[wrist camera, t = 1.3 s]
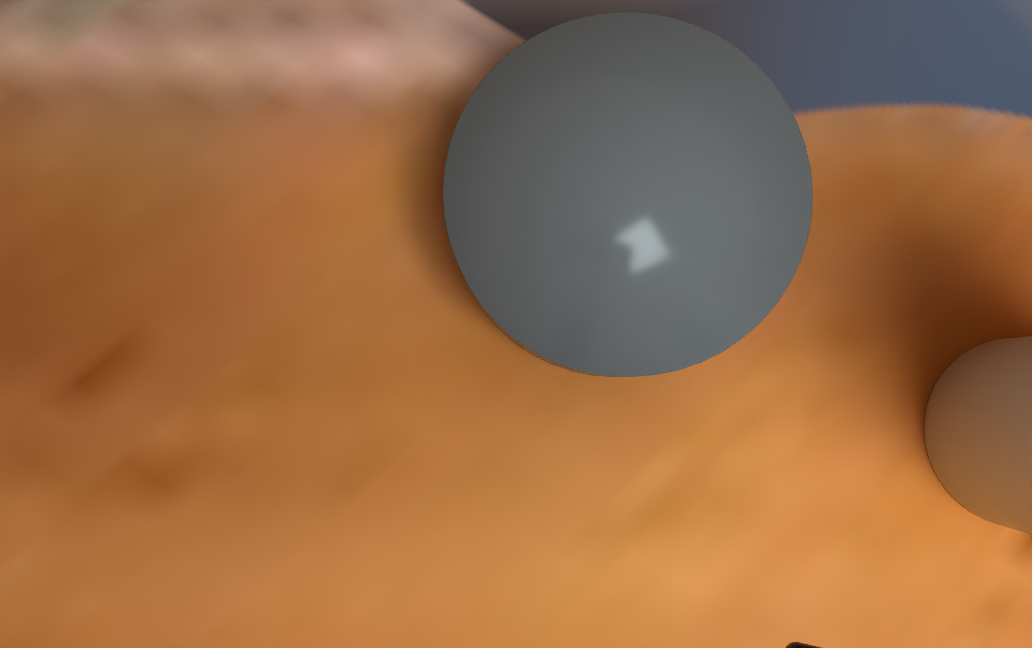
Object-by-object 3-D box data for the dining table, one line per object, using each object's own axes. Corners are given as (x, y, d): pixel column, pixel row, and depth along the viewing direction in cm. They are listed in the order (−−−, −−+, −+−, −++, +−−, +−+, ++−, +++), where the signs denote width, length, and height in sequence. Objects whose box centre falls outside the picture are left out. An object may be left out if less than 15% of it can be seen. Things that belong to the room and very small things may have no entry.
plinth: (836, 187, 22) (885, 157, 19) (645, 442, 22) (665, 452, 19) (581, -2, 23) (591, -59, 20) (388, 245, 22) (368, 225, 19)
